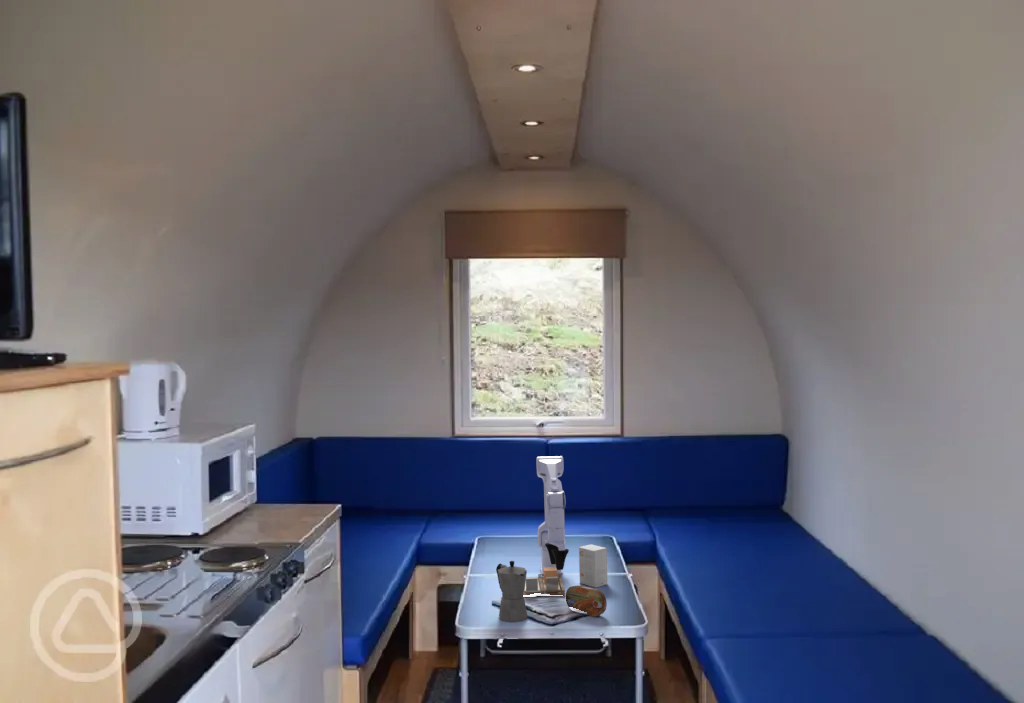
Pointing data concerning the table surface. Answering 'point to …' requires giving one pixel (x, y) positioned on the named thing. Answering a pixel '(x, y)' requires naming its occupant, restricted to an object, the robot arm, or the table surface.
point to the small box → (593, 565)
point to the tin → (586, 600)
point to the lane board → (562, 592)
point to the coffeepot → (512, 592)
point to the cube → (549, 572)
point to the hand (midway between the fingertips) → (557, 566)
